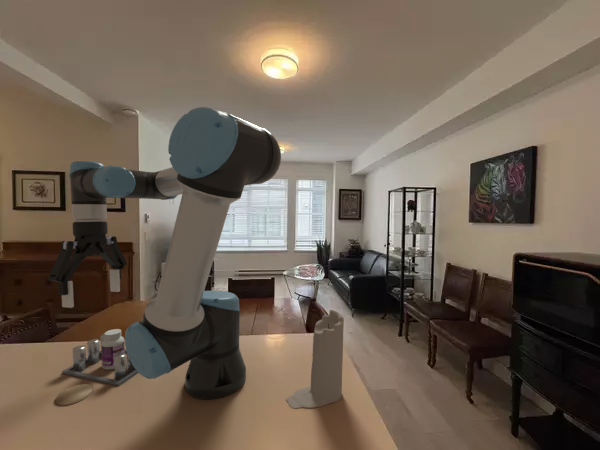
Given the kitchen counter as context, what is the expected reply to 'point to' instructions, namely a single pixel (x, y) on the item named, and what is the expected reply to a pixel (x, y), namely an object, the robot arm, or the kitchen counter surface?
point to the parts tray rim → (98, 378)
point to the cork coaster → (74, 394)
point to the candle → (324, 365)
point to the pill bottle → (111, 347)
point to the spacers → (94, 356)
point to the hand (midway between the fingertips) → (93, 298)
